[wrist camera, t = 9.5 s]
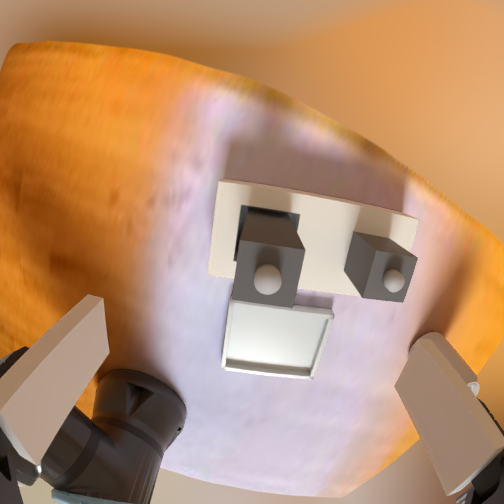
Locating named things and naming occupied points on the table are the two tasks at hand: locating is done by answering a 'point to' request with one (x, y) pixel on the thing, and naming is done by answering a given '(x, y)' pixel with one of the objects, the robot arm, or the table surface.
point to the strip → (323, 239)
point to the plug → (268, 260)
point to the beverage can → (453, 359)
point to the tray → (275, 339)
